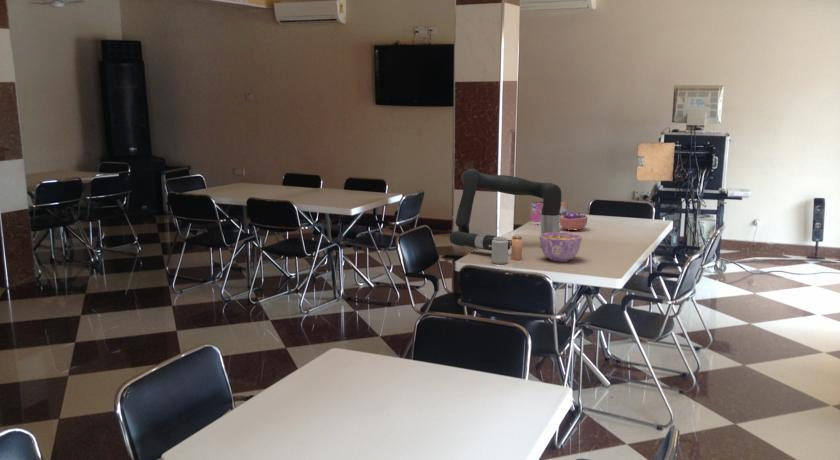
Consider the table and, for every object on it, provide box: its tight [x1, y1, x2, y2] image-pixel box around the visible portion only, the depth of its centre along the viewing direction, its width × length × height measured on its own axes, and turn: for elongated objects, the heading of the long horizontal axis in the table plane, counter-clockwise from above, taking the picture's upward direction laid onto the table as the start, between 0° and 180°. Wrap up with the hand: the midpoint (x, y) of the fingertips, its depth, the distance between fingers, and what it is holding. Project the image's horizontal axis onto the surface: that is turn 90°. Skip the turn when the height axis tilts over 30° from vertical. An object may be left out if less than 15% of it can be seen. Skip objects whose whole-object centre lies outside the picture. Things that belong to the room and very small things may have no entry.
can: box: [491, 236, 509, 265], centre depth 325 cm, size 8×8×12 cm
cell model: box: [559, 211, 588, 231], centre depth 416 cm, size 17×20×11 cm
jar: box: [510, 235, 523, 261], centre depth 334 cm, size 5×5×11 cm
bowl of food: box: [538, 232, 583, 263], centre depth 332 cm, size 20×20×12 cm
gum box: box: [529, 200, 568, 223], centre depth 441 cm, size 24×8×14 cm, turn 111°
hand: (514, 246), depth 335 cm, fingers open, 8 cm apart
